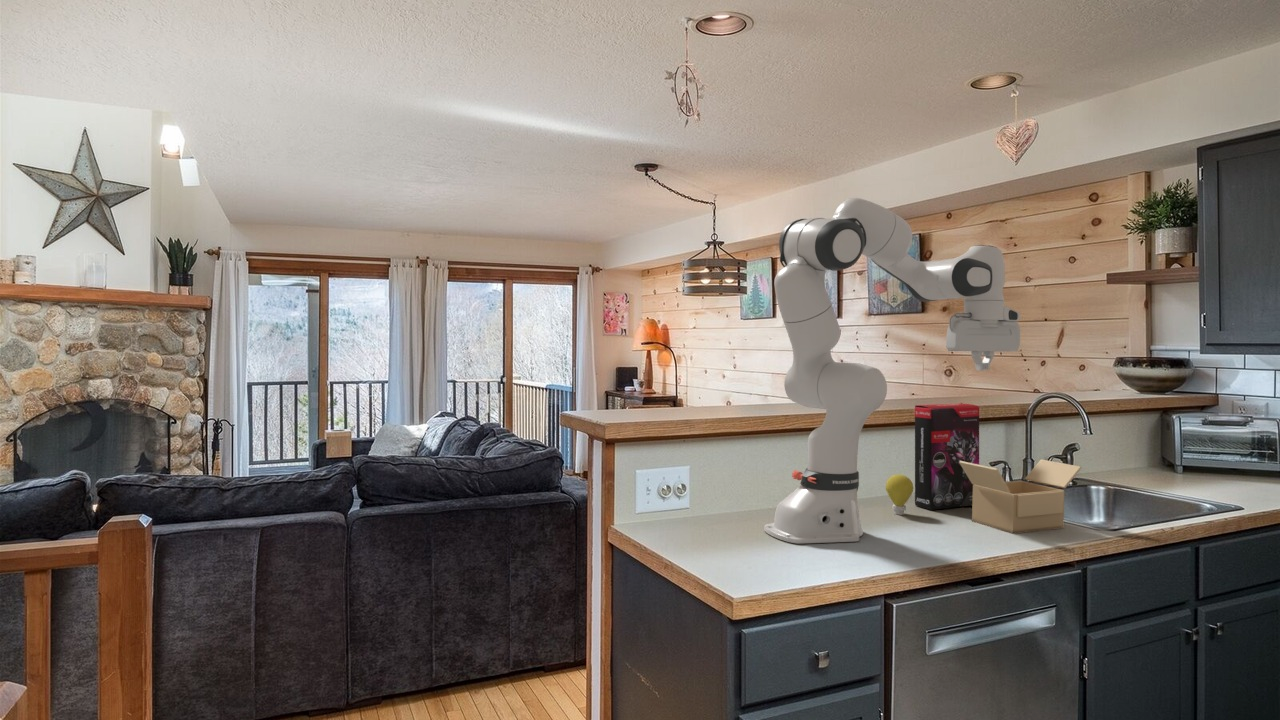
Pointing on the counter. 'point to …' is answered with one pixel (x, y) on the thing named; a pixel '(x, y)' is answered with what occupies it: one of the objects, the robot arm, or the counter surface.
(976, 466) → the flap near
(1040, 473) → the flap far
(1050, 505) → the carton
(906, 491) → the light bulb
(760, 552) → the counter surface
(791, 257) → the robot arm
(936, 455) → the graphics card box
